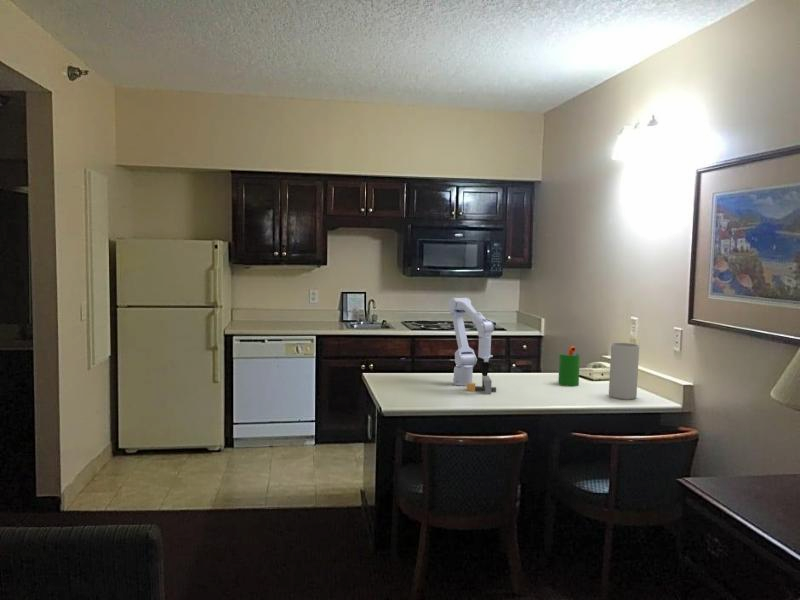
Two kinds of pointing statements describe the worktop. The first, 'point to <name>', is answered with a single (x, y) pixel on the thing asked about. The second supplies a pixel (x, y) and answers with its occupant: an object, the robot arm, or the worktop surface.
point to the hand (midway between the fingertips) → (483, 374)
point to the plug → (477, 387)
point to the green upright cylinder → (569, 368)
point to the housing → (486, 384)
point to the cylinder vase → (623, 371)
